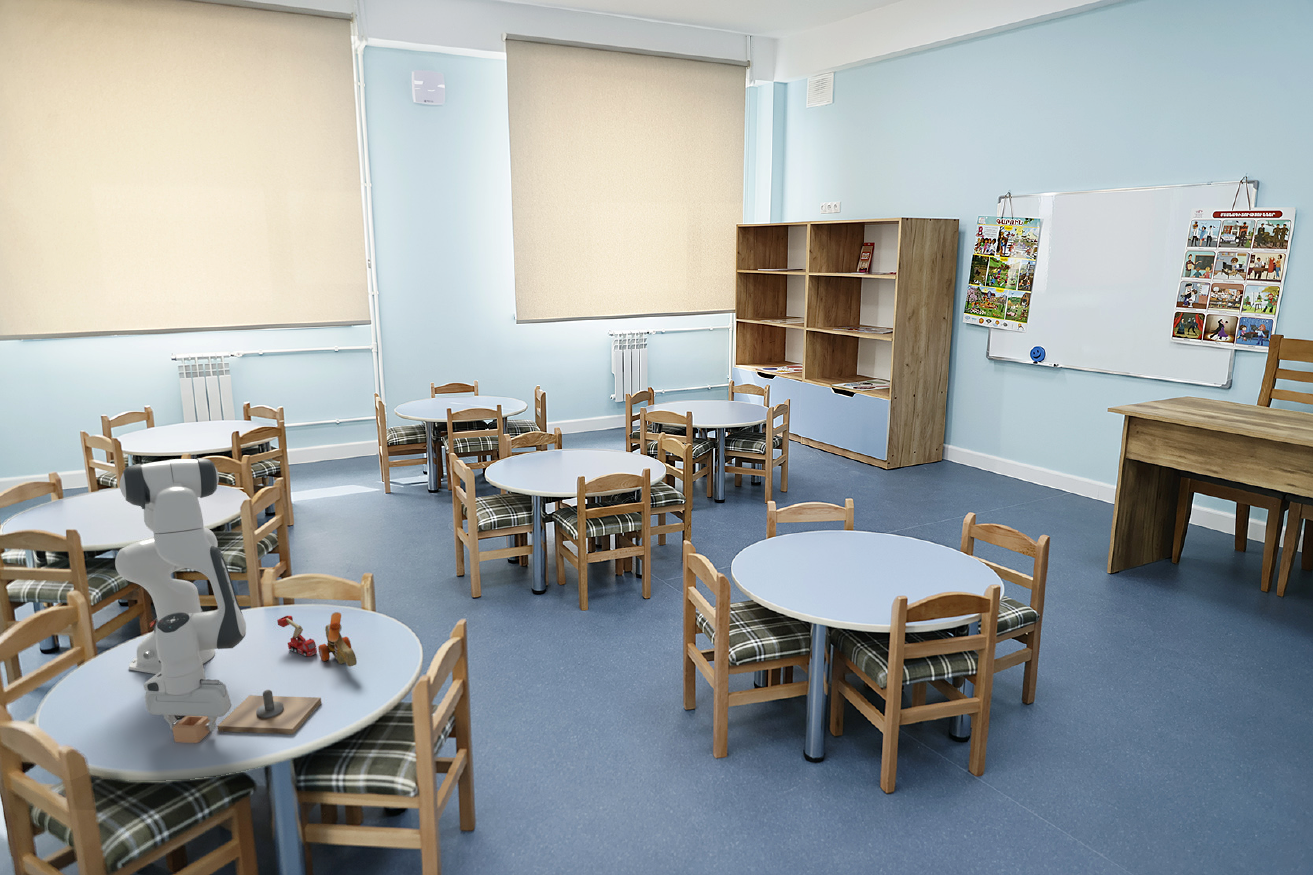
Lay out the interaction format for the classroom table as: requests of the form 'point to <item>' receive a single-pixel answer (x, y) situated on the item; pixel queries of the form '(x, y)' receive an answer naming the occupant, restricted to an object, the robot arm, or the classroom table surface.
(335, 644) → the toy helicopter
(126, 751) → the classroom table surface
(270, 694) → the stand
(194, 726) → the square frame block
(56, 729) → the classroom table surface
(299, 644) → the toy fire truck
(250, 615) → the classroom table surface
